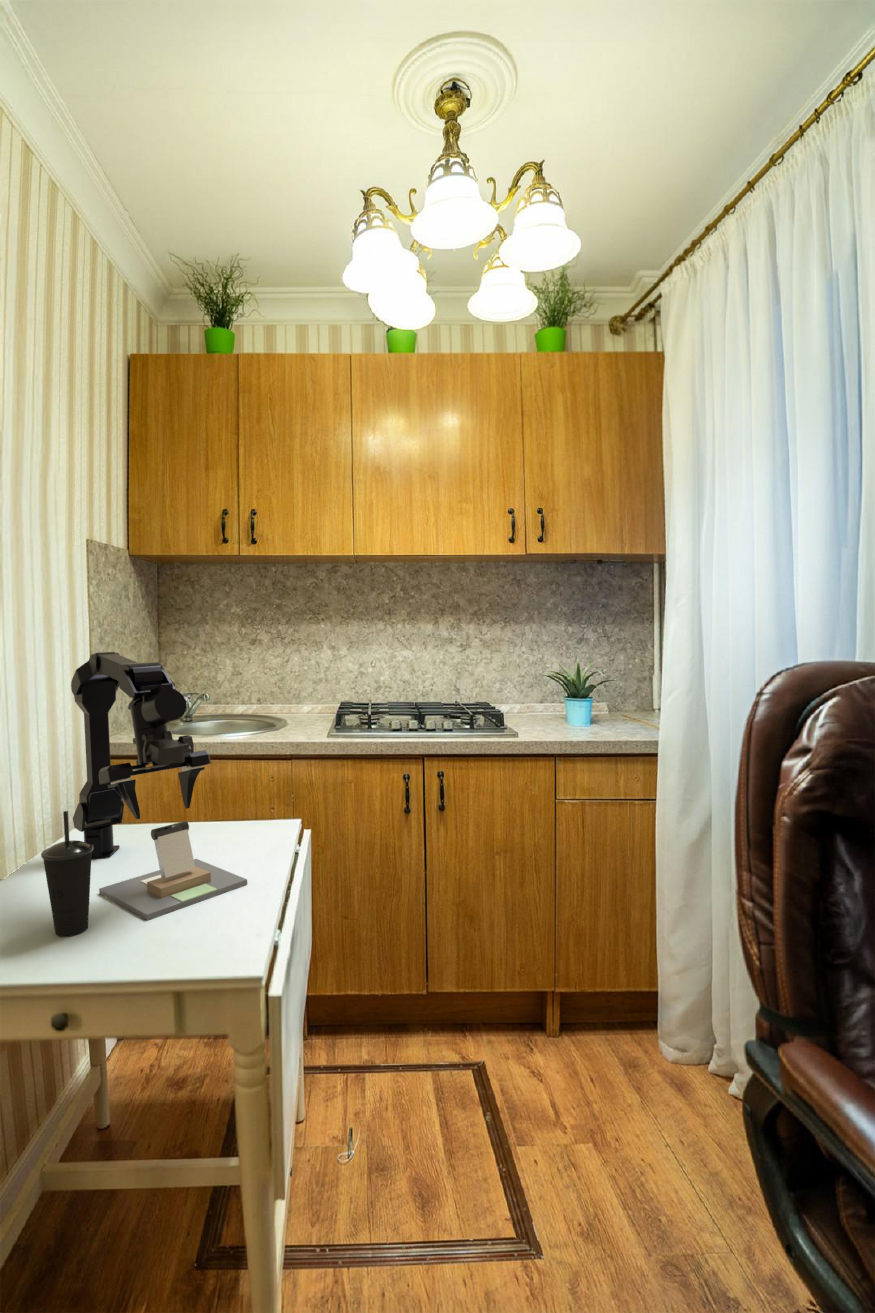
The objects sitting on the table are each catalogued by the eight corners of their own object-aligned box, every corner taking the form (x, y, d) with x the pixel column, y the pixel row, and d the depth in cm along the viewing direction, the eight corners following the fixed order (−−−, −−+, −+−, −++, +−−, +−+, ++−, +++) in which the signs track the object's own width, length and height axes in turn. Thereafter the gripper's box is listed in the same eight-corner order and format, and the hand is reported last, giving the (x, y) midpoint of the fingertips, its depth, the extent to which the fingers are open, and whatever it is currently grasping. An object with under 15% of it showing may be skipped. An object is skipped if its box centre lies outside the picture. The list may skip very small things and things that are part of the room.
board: (99, 893, 133) (98, 879, 133) (196, 863, 148) (196, 850, 148) (147, 920, 121) (146, 904, 121) (247, 884, 136) (246, 870, 136)
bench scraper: (159, 879, 131) (149, 830, 133) (192, 868, 136) (182, 821, 138) (164, 878, 130) (155, 828, 131) (197, 867, 135) (187, 820, 136)
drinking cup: (57, 921, 121) (51, 805, 120) (104, 919, 122) (98, 804, 121) (36, 942, 114) (29, 819, 112) (86, 939, 114) (80, 817, 113)
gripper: (114, 729, 120) (128, 822, 118) (217, 716, 133) (231, 800, 131) (92, 738, 127) (104, 826, 126) (191, 725, 140) (204, 804, 139)
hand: (163, 813), depth 130 cm, fingers open, 9 cm apart
